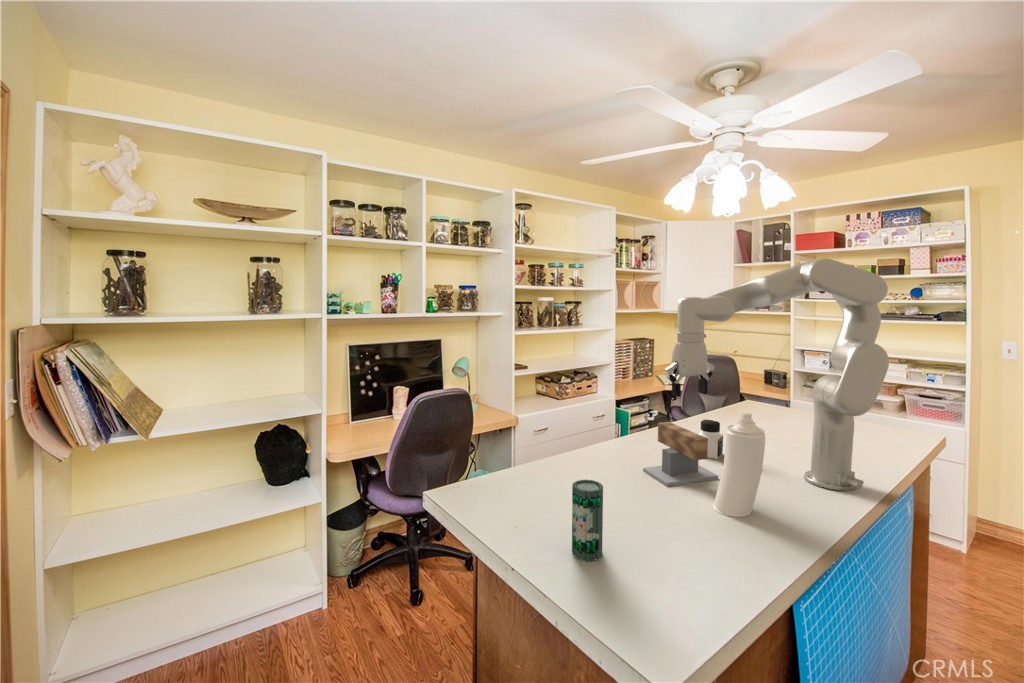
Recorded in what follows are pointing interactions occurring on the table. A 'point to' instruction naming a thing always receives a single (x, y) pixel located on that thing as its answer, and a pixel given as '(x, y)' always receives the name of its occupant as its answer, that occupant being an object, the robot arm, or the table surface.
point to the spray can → (741, 468)
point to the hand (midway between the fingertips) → (689, 394)
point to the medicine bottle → (712, 437)
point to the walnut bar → (683, 440)
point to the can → (587, 519)
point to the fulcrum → (678, 469)
